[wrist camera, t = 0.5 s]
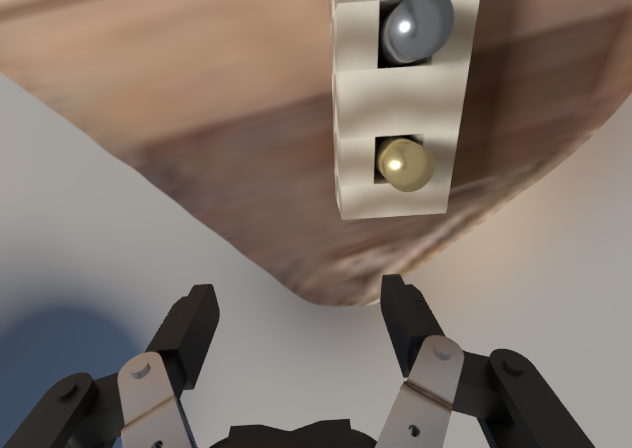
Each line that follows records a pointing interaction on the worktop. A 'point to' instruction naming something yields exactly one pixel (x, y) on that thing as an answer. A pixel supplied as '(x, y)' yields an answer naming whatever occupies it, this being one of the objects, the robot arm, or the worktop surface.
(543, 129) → the worktop surface
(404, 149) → the brass peg
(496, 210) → the worktop surface
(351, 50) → the ash socket block
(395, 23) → the steel peg
